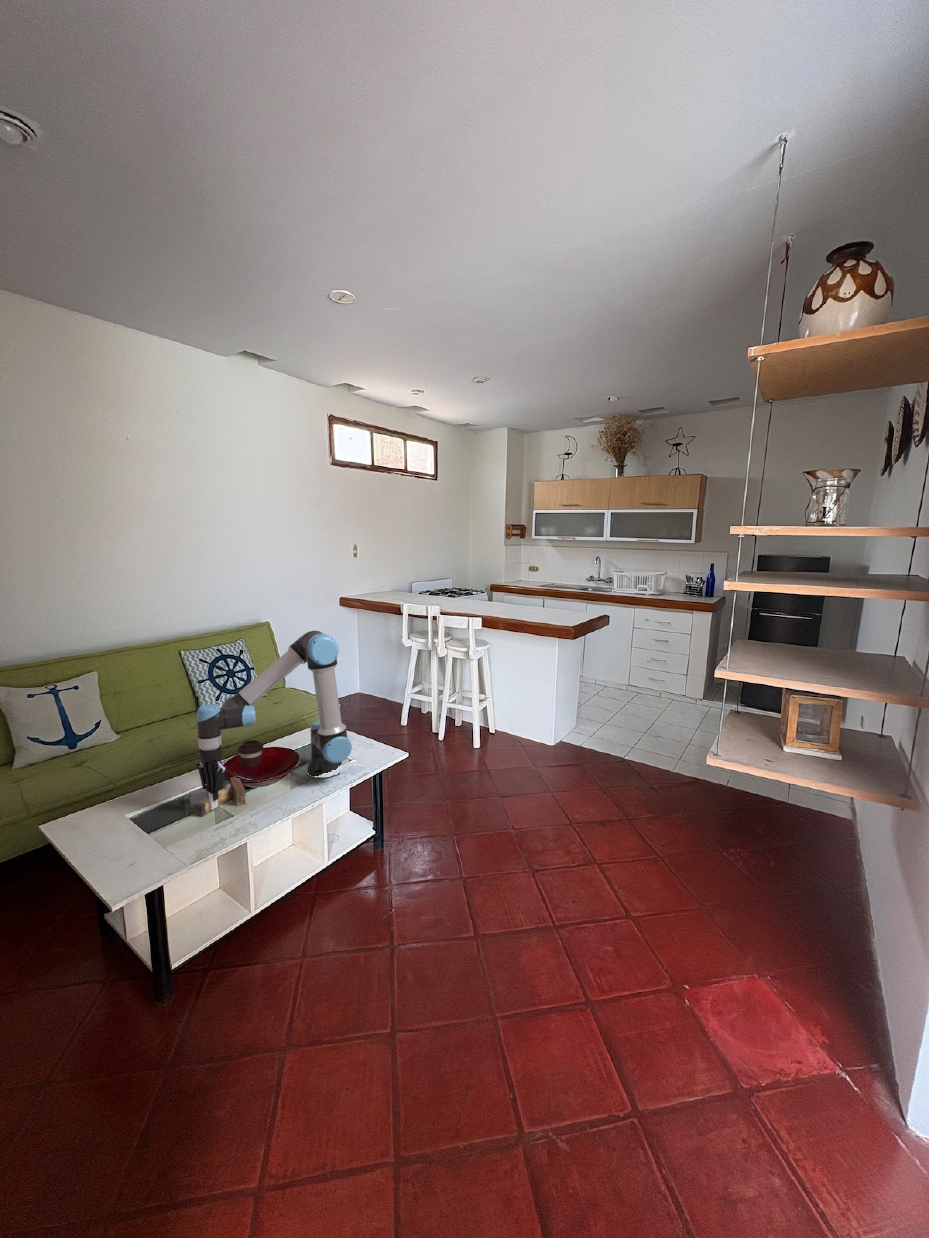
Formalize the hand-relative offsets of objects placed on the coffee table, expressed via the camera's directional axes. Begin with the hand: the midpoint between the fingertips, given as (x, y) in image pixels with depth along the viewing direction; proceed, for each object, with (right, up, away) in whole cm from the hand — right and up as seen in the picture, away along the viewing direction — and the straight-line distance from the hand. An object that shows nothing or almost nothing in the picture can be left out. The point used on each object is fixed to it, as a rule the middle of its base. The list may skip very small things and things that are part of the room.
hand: (213, 807), depth 183 cm
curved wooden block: (+4, 0, +11) cm, 11 cm away
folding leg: (-1, -1, +4) cm, 4 cm away
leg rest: (-10, 0, +8) cm, 12 cm away
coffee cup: (+1, +2, +30) cm, 31 cm away
